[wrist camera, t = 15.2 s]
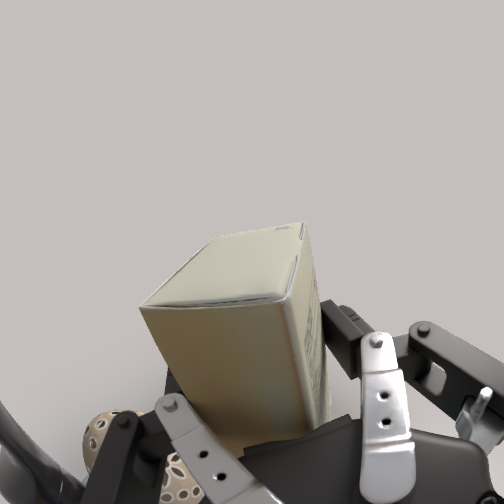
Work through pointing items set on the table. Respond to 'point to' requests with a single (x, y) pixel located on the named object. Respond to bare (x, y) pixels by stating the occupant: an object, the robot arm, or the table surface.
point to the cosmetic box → (247, 336)
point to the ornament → (176, 474)
